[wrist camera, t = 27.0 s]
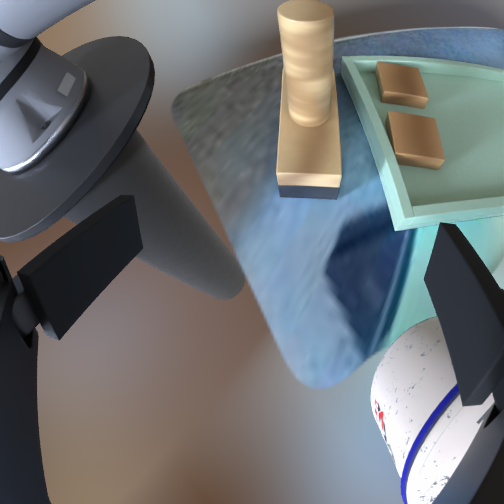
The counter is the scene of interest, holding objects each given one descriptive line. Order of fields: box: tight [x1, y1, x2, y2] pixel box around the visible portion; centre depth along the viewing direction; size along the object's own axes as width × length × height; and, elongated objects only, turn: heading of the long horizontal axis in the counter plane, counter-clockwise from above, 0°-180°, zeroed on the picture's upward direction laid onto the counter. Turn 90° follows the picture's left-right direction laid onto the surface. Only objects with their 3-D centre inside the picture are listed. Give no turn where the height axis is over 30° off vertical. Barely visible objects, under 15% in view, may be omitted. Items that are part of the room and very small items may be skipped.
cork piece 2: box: [385, 111, 445, 170], centre depth 20 cm, size 4×4×2 cm
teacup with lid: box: [371, 316, 495, 504], centre depth 10 cm, size 12×9×12 cm
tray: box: [341, 56, 504, 231], centre depth 19 cm, size 26×16×2 cm, turn 96°
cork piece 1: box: [375, 62, 429, 109], centre depth 21 cm, size 4×4×2 cm
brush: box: [276, 0, 342, 199], centre depth 17 cm, size 4×10×12 cm, turn 175°
